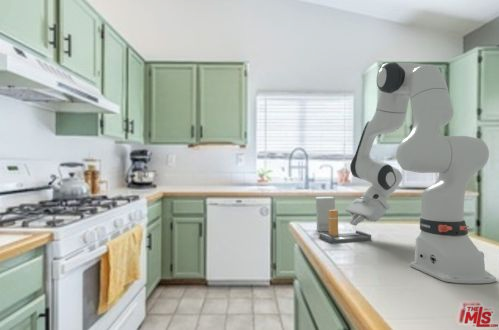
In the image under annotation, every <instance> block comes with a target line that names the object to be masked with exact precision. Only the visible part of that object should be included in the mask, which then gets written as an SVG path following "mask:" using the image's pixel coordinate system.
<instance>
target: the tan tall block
mask: <svg viewBox="0 0 499 330" xmlns="http://www.w3.org/2000/svg"><path fill="white" fill-rule="evenodd" d="M328 221H329V231H328V233H327V234H326V235H328V236H331V237H339V235H338V234H339V210H338V209H335V210H328Z"/></svg>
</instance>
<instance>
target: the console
mask: <svg viewBox="0 0 499 330" xmlns="http://www.w3.org/2000/svg"><path fill="white" fill-rule="evenodd" d="M338 235H339V237H331V236H328V235H327V234H326V233H324V232H319V239H320V240H323V241H325V242H327V243H329V244H337V243H338V244H339V243H352V242H354V243H355V242H364V241H365V242H366V241H367V242H368V241H372V234H369V233H367V232H364V231H361V230H355V232H349V233H348V232H347V233H338Z"/></svg>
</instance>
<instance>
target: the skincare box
mask: <svg viewBox="0 0 499 330" xmlns="http://www.w3.org/2000/svg"><path fill="white" fill-rule="evenodd" d="M335 200H336V199H335V196H316V197H315V206H316V207H315V210H316V213H315V214H316V216H315V217H316V218H315V219H316V230H317V232H319V233H322V232H329V221H328V210H336V208H335V207H336V206H335V205H336V203H335Z"/></svg>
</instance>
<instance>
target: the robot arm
mask: <svg viewBox="0 0 499 330" xmlns="http://www.w3.org/2000/svg"><path fill="white" fill-rule="evenodd" d="M376 75H377V76H376V86H377V88H378V89H379V91H380V94H379V97H378V100H377V103H376V107H375V111H374V115H373V116H372V118H371V119H369V120H367V122H366V123H365V126H364V128H363V131H362V133H361V136H360V139H359V142H358V145H357V148H356V151H355V154H354V156H353V157H352V160H351V162H350V167H349V169H350V172H351V174H352V176H353V177H355V178H357V179H360V180H363V181H366V182H369V183H371V185H370V186H369V187H368V188H367V189H366V191H365V192H364V193H363V194H362V195H361V197H358V198H355V199H354V200H352V202H350V204H349V205H348V206H347V207H346V208H345V212H346V213H347V214H348V215H349V216H351V219H350V221H349V224H350V225H352V226H355V227H357V225H359V224H360V223H361V222H363V221H364V220H368V221H371V222H374V223H376V222H378V221H380V219H381V218H382V217H383V216H384V215H385V213H386V211H388V210H389V209H390V208H391V206H390V204H389V203H388V202H387V200H388V199H389V197H390V196H392V195H393V194H394V192H395V191H396V190H397V189H398V188H399V186H400V184H401V182H402V180H403V174H402V172H401V171H400V170H399V169H398V168H397V167H394V166H392V165H391V164H389V163H386V162H383V161H380V160H378V159H375V158H372V157H371V156H370V153H371V151H372V148H373V145H374V142H375V140H376V138H377V137H378V136H379V135H385V134H390V133H391V134H392V133H394V132H397V130H399V129H401V128H402V126H403V125H404V122H405V121H406V116H407V112H408V111H407V110H408V106H409V105H408V104H409V101H410V106H411V112H412V120H413V121H412V128H411V131H410V133H409V134H408V135H407V137H405V138H404V139H403V140H401V142H400V143H399V145H398V146H397V148H396V153H395V154H396V155H395V156H396V160H397V163H398V164H399V166H400V168H402V169H403V170H404V171H408V172H412V173H418V174H419V173H420V174H428V173H429V174H434V173H437V174H438V177H437V179H436V181H435V183H433V184H432V185H429V186H427V187H426V188H425V189H424V190H423V191H422V193H421V195H420V199H421V201H420V202H421V207H420V208H421V211H420V212H421V216H420V219H419V230H420V233H419V235H418V236H417V237H416V238H415V248H414V261H411V262H410V267H411V268H413V269H416V270H417V271H420V272H423V273H425V274H426V275H430V276H431V277H433V278H436V279H438V280H441V281H443V282H447V283H454V284H472V285H474V284H491V283H495V282H497V277H496V276H495V275H494V274H491V273H490V272H489V271H487V270H486V265H485V264H486V262H485V253H484V252H483V251H482V250H481V251H480V250H479V249H478V248H477V246H476V245H475V243H474V242H473V241H472V239H471V238H470V237H469V235H468V234H469V230H470V229H469V225H467V223H466V220H465V218H464V215H465V214H464V213H465V212H464V211H465V210H464V208H465V207H464V206H465V205H464V204H465V196H466V191H467V188H468V185H469V183H470V182H471V180H472V178H473V177H474V176H475V174H477V173H478V172H479V171H480V170H481V169H483V168H484V167H485V166H486V164H487V163H488V161H489V157H490V150H489V147H488V145H487V143H486V142H485V141H484V140H482V139H481V138H479V137H473V136H468V135H442V134H441V132H440V129H442V128H443V127H445V126H446V125H448V124H449V123H450V122H451V121H452V119H453V117H454V109H453V103H452V100H451V95H450V92H449V88H448V85H447V81H446V79H445V77H444V74H443V71H442V69H441V68H440V67H438V66H437V65H434V64H423V63H416V62H415V63H414V62H395V61H394V62H393V61H392V62H386V63H384V64H383V65H382V66H381V67H380V68H379V69H378V72H377V74H376Z"/></svg>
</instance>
